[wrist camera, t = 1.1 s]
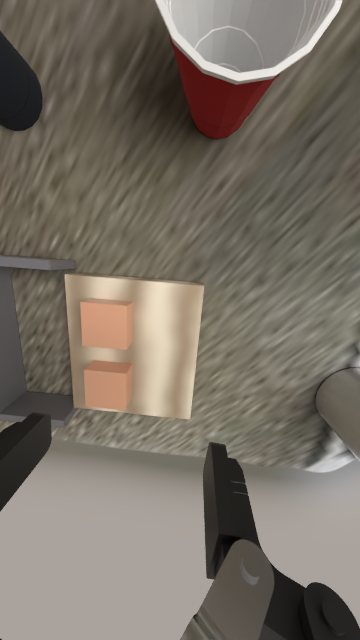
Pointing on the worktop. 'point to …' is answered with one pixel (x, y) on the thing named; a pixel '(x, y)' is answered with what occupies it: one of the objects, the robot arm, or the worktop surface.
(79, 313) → the birch board
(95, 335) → the terracotta tile
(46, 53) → the worktop surface
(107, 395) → the terracotta tile
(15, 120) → the wine bottle
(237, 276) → the worktop surface
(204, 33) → the plastic cup
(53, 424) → the box
